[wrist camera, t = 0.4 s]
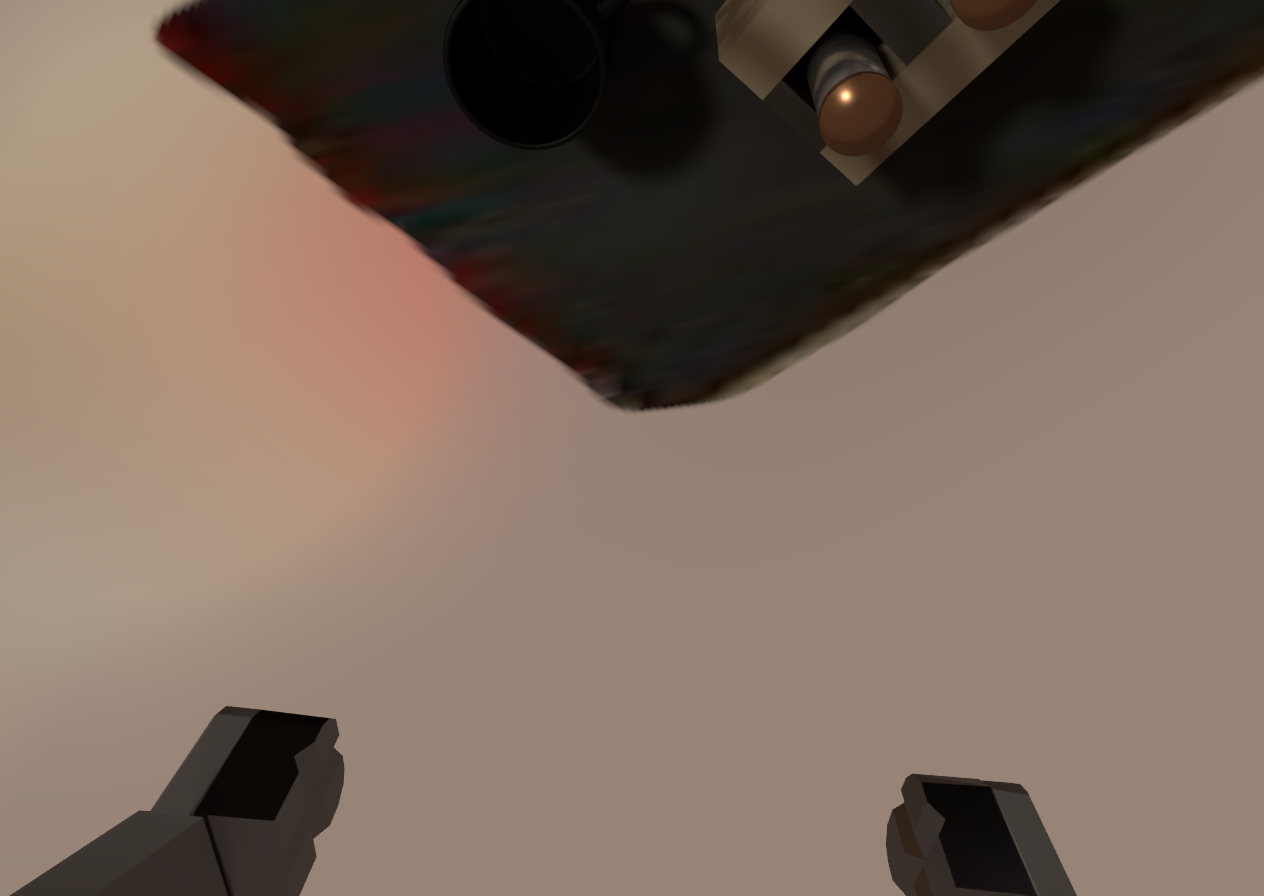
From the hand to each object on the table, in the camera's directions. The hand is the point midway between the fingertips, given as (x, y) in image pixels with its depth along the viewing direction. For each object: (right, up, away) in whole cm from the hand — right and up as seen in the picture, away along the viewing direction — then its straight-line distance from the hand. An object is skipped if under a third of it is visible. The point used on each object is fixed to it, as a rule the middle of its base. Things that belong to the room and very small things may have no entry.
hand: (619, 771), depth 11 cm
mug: (-4, +33, +38) cm, 51 cm away
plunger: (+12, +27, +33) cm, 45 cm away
